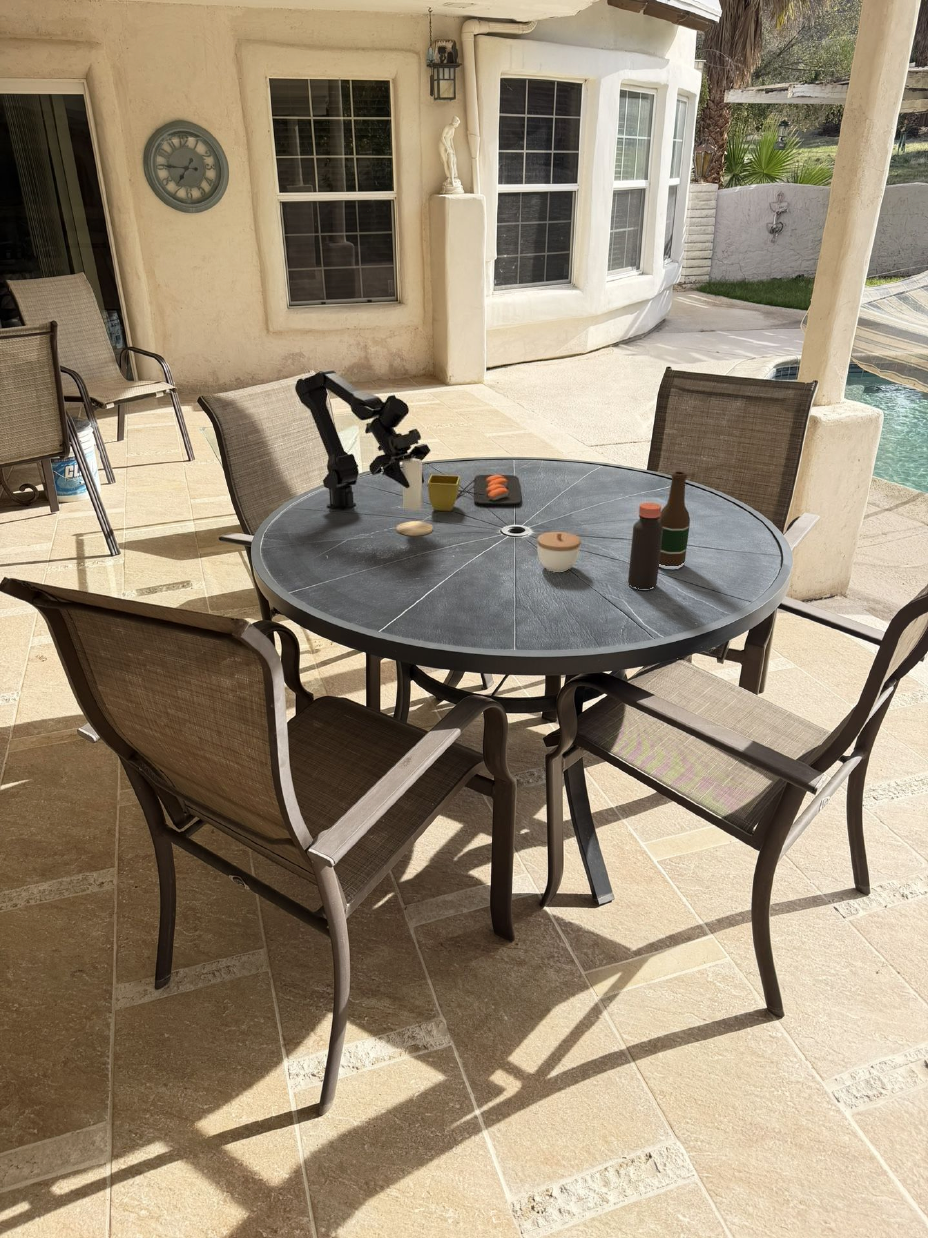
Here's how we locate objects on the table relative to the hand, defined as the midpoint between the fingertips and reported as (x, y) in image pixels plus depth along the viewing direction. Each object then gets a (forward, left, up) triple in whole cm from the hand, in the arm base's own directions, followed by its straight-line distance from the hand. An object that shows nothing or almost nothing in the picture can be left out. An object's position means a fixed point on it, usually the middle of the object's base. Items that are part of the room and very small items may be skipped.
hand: (415, 485), depth 234 cm
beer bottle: (+68, +14, -13) cm, 70 cm away
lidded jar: (+45, -3, -13) cm, 47 cm away
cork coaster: (-1, +1, -13) cm, 13 cm away
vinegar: (+67, -2, -13) cm, 68 cm away
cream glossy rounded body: (-1, 0, -7) cm, 7 cm away
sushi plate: (-5, +39, -14) cm, 42 cm away
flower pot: (-4, +21, -13) cm, 25 cm away
